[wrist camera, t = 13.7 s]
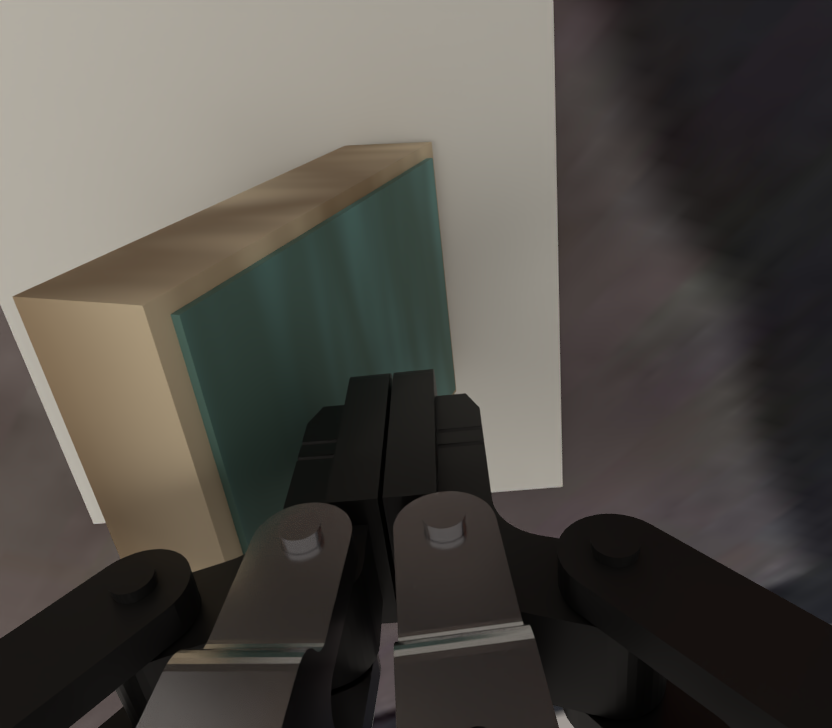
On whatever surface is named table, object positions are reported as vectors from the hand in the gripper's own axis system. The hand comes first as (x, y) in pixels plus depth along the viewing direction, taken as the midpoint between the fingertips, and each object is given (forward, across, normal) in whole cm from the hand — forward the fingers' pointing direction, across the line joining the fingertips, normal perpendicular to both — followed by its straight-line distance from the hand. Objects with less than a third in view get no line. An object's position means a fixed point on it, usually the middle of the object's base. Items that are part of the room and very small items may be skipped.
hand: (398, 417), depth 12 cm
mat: (+8, +4, 0) cm, 9 cm away
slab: (+7, 0, 0) cm, 7 cm away
